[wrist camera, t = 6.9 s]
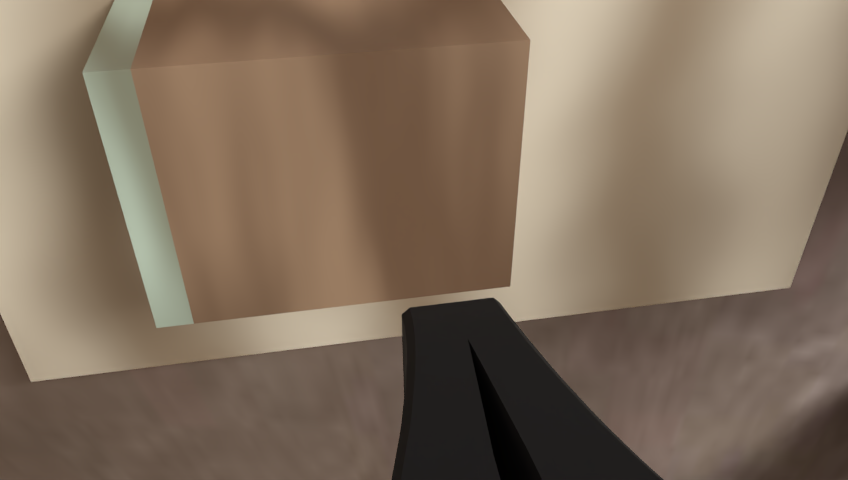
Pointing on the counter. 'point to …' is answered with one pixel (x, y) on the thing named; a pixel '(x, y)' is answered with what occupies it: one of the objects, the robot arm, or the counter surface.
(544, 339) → the counter surface
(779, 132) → the birch board
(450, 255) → the walnut block
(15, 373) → the counter surface
